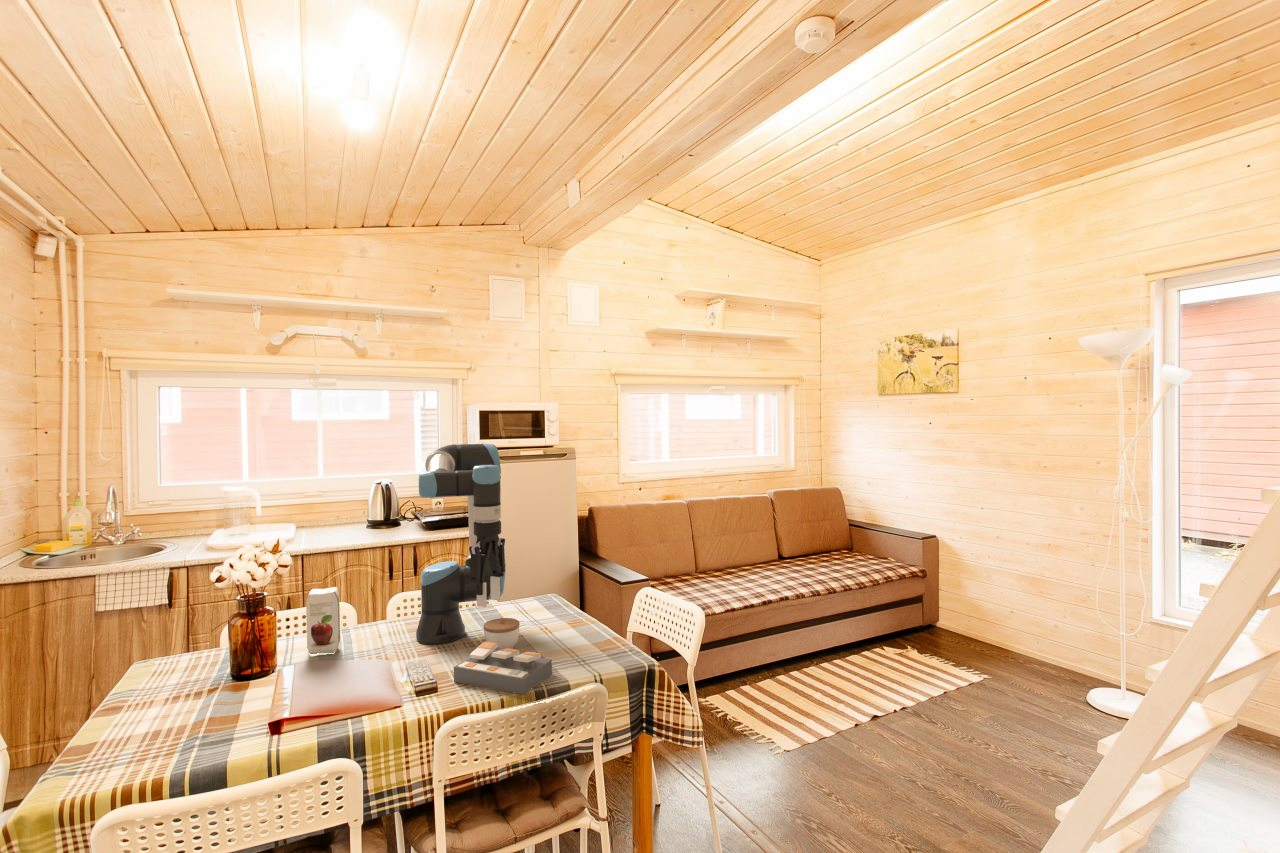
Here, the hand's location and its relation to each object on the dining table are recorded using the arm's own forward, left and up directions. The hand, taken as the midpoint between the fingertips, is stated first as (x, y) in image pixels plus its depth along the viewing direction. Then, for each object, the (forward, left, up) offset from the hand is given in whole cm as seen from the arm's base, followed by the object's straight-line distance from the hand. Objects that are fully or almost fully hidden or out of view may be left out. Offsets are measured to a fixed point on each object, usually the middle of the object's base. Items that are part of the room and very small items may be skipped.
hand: (488, 602), depth 176 cm
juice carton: (-55, -7, -19) cm, 59 cm away
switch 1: (0, -2, -13) cm, 13 cm away
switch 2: (+7, -2, -13) cm, 15 cm away
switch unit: (+7, -3, -19) cm, 20 cm away
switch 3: (+14, -2, -13) cm, 19 cm away
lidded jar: (-6, +15, -19) cm, 25 cm away
